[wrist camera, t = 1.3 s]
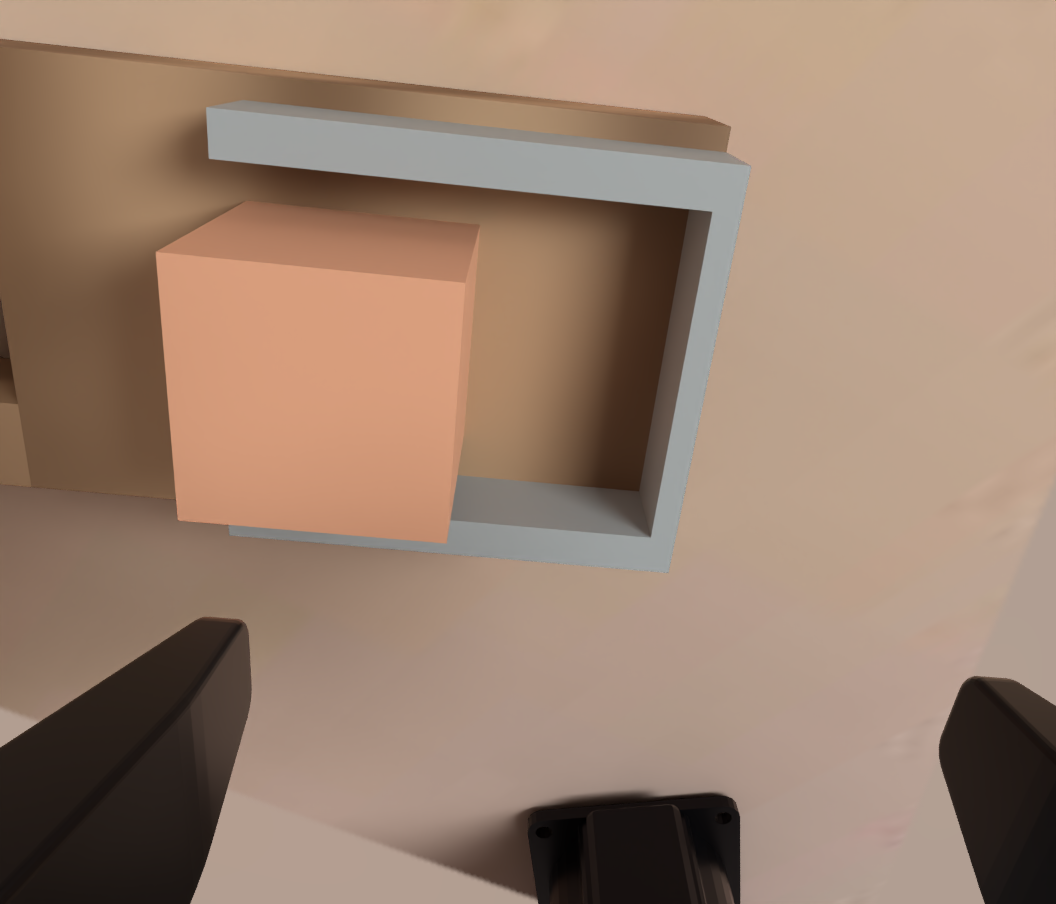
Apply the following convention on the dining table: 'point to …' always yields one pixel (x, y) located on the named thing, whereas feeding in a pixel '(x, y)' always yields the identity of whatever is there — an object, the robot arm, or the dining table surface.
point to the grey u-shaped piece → (556, 169)
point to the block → (318, 369)
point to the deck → (218, 186)
